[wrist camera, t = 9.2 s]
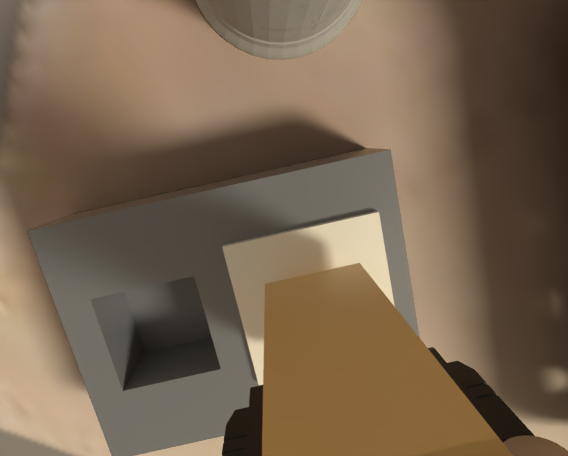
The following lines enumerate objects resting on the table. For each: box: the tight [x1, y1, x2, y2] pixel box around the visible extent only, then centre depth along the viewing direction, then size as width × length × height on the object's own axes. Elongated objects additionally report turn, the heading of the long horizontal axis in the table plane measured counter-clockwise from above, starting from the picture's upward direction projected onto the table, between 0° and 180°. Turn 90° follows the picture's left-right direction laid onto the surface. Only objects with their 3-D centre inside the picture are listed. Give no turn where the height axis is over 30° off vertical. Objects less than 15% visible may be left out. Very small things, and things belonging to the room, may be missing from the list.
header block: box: [27, 148, 419, 456], centre depth 20 cm, size 12×16×4 cm
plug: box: [262, 263, 513, 456], centre depth 11 cm, size 4×4×11 cm
